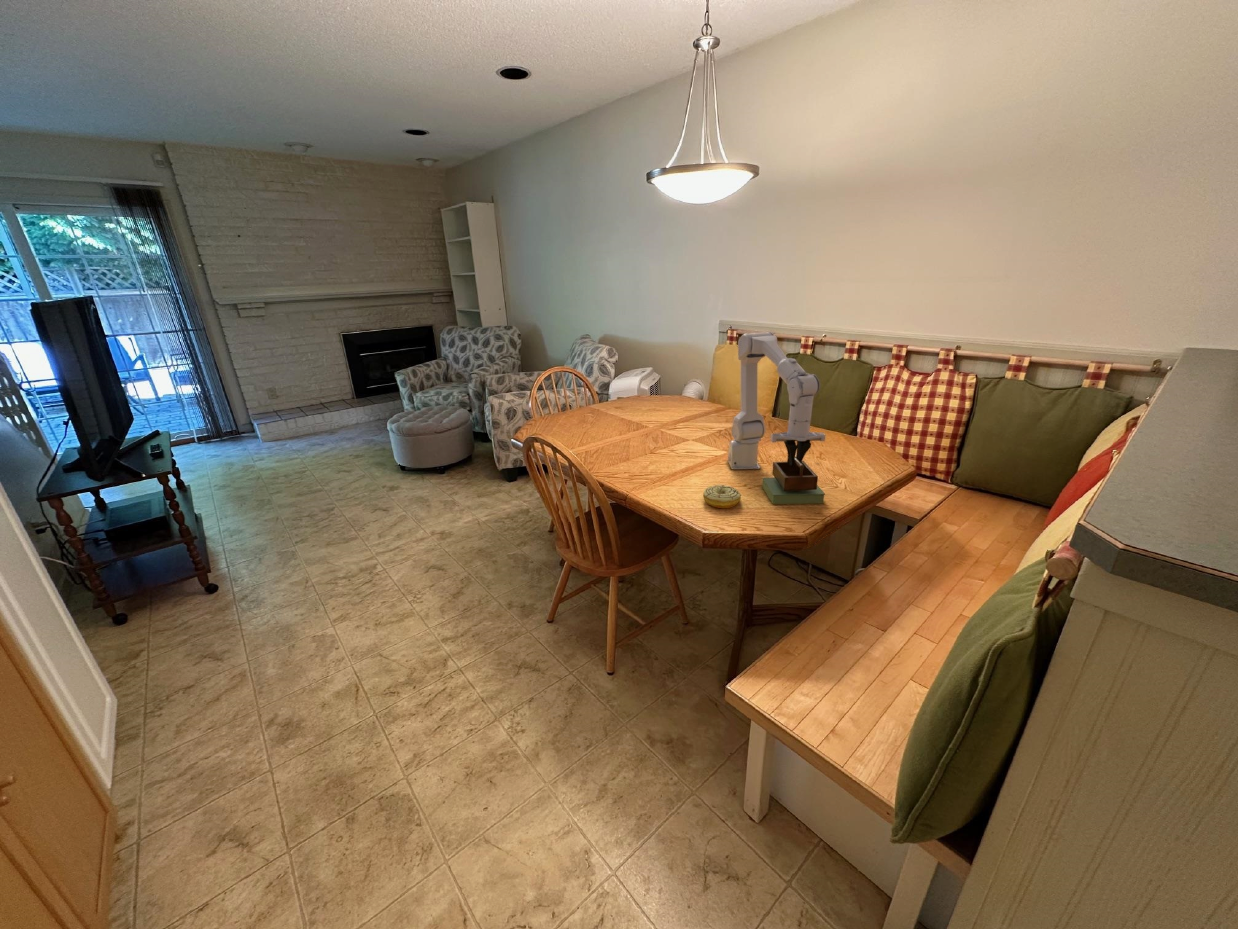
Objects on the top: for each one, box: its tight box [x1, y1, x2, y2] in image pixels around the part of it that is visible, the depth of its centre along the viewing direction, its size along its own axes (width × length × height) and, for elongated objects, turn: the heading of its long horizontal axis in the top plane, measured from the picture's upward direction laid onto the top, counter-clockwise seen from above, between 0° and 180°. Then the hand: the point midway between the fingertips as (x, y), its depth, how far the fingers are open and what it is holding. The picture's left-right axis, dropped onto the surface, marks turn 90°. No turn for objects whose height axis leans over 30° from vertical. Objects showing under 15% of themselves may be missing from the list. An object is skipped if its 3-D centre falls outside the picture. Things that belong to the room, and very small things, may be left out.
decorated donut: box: [702, 484, 742, 509], centre depth 136 cm, size 10×11×4 cm
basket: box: [771, 452, 819, 491], centre depth 137 cm, size 9×12×7 cm
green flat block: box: [761, 476, 826, 505], centre depth 140 cm, size 14×12×3 cm
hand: (794, 464), depth 137 cm, fingers closed on basket
